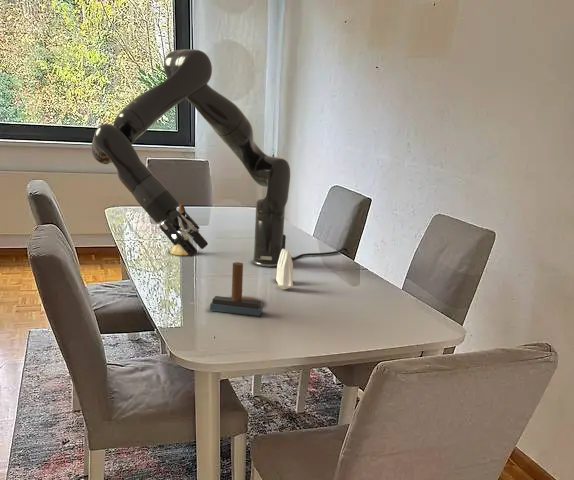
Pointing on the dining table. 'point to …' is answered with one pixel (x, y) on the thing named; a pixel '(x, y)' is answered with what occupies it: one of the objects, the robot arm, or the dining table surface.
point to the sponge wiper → (236, 297)
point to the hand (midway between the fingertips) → (200, 250)
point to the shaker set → (285, 270)
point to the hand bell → (177, 249)
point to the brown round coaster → (251, 299)
